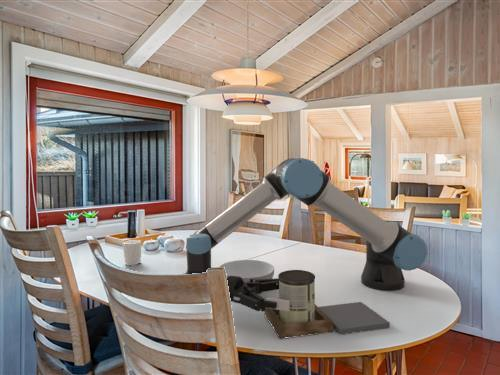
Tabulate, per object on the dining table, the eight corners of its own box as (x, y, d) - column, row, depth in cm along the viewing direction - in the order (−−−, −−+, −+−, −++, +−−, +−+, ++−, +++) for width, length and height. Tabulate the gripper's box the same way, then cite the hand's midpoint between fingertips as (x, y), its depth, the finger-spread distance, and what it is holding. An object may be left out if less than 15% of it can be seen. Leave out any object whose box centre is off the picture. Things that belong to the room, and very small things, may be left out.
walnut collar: (311, 309, 115) (310, 300, 114) (332, 331, 100) (332, 321, 100) (264, 315, 111) (264, 305, 111) (280, 339, 97) (280, 328, 96)
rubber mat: (360, 306, 116) (360, 301, 116) (389, 327, 102) (389, 322, 102) (316, 311, 113) (316, 307, 113) (339, 334, 98) (339, 329, 98)
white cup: (136, 266, 163) (135, 244, 162) (120, 265, 165) (119, 243, 164) (145, 261, 171) (144, 240, 170) (129, 260, 172) (128, 239, 171)
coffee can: (277, 316, 111) (276, 270, 109) (311, 314, 111) (311, 269, 110) (281, 332, 100) (280, 281, 99) (318, 331, 101) (318, 280, 100)
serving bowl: (212, 295, 128) (211, 276, 127) (224, 275, 148) (224, 259, 148) (272, 297, 125) (272, 277, 124) (276, 277, 146) (276, 260, 145)
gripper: (243, 286, 124) (305, 293, 117) (208, 316, 101) (283, 328, 94) (243, 264, 124) (305, 270, 116) (208, 290, 101) (283, 300, 93)
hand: (295, 296), depth 105 cm, fingers open, 13 cm apart
